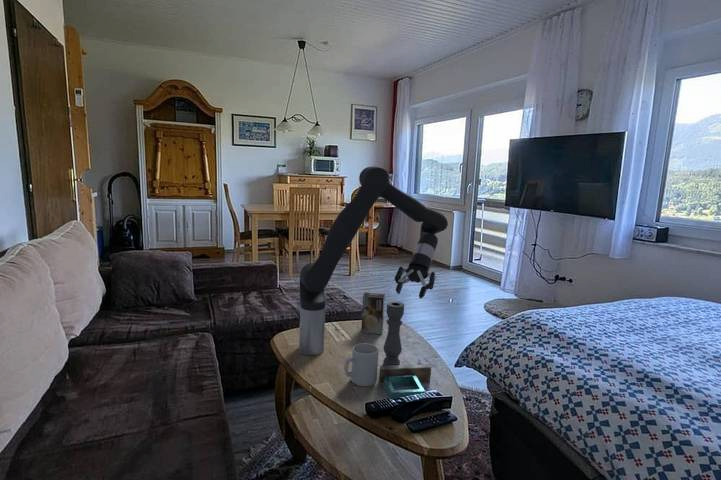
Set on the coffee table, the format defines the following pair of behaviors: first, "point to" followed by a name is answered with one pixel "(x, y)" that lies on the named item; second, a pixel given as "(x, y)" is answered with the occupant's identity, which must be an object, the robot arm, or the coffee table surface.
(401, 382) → the frame
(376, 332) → the coffee box
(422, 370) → the door edge rail
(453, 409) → the coffee table surface
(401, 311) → the candle holder
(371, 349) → the mug
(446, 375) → the coffee table surface
